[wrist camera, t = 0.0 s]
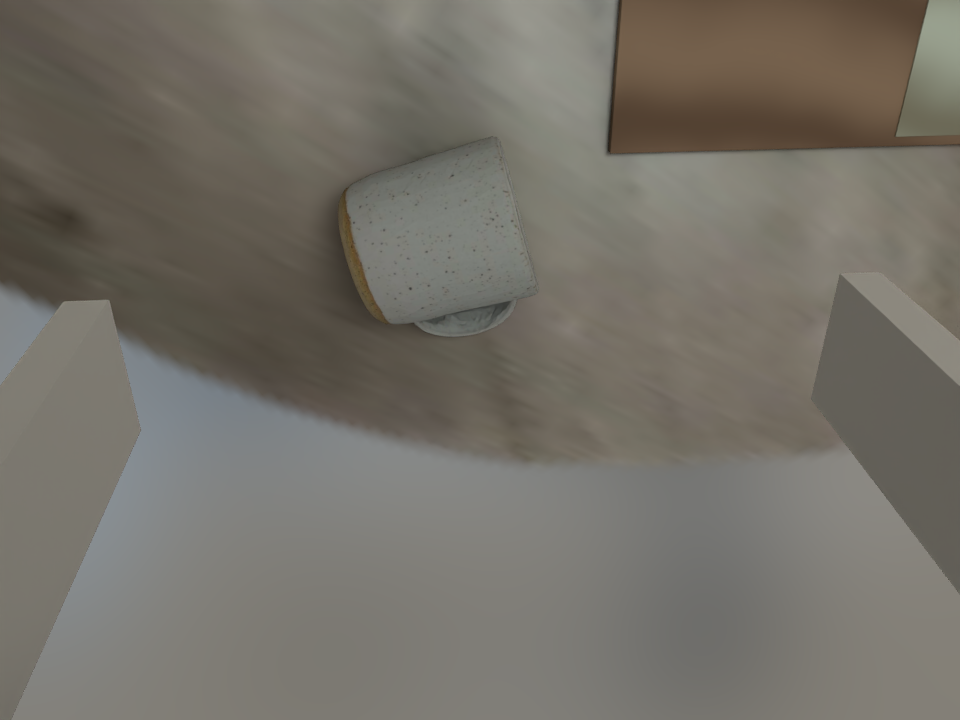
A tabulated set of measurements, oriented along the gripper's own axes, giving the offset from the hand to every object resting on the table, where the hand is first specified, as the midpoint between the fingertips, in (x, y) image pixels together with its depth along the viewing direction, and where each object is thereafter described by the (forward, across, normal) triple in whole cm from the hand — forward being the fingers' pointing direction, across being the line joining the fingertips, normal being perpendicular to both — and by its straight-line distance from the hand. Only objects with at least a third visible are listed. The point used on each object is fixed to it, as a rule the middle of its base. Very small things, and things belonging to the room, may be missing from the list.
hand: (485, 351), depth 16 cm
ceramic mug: (+28, +1, -9) cm, 30 cm away
